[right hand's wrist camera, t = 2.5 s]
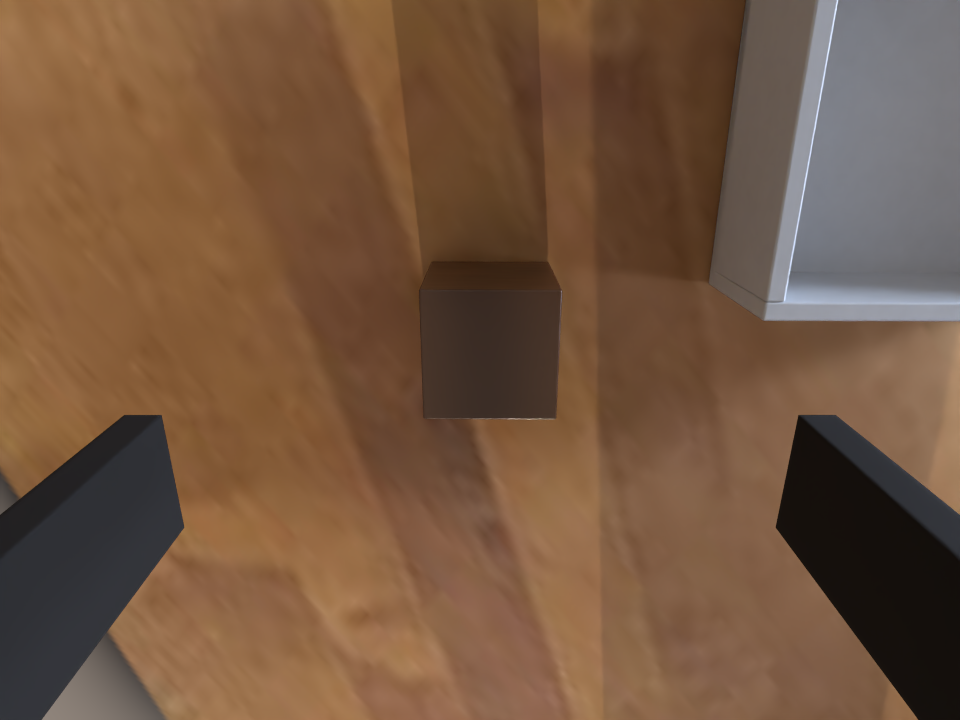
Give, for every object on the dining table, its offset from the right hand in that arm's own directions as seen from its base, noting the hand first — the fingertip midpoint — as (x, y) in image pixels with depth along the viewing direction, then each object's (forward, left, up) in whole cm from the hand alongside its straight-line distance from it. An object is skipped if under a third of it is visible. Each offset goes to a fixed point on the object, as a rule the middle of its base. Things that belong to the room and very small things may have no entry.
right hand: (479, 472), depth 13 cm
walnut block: (0, 0, -12) cm, 12 cm away
